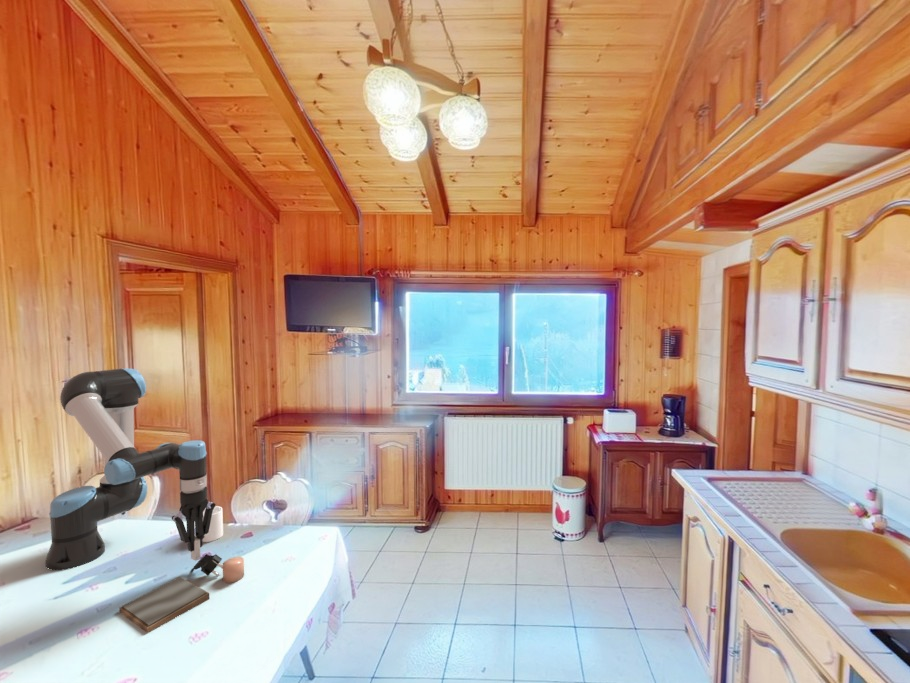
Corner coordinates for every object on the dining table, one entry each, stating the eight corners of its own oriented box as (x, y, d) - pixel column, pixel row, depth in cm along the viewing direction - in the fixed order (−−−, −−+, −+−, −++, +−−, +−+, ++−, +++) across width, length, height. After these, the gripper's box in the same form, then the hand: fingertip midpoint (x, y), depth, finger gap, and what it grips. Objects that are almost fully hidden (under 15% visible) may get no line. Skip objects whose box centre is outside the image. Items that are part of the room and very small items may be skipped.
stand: (119, 614, 115) (119, 606, 115) (180, 582, 129) (180, 575, 129) (147, 635, 107) (147, 627, 107) (209, 599, 121) (209, 591, 121)
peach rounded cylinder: (218, 580, 131) (218, 564, 130) (236, 570, 136) (235, 555, 136) (231, 584, 128) (230, 569, 128) (248, 574, 133) (247, 559, 133)
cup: (204, 528, 163) (203, 503, 163) (228, 532, 160) (227, 507, 159) (185, 538, 156) (184, 513, 155) (209, 543, 152) (209, 517, 152)
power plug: (196, 560, 138) (212, 547, 133) (214, 573, 139) (231, 560, 134) (183, 576, 133) (200, 562, 128) (202, 589, 134) (219, 576, 129)
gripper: (178, 498, 126) (180, 572, 128) (220, 484, 138) (221, 551, 139) (165, 493, 130) (167, 565, 131) (207, 479, 142) (209, 545, 143)
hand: (195, 558), depth 135 cm, fingers closed
